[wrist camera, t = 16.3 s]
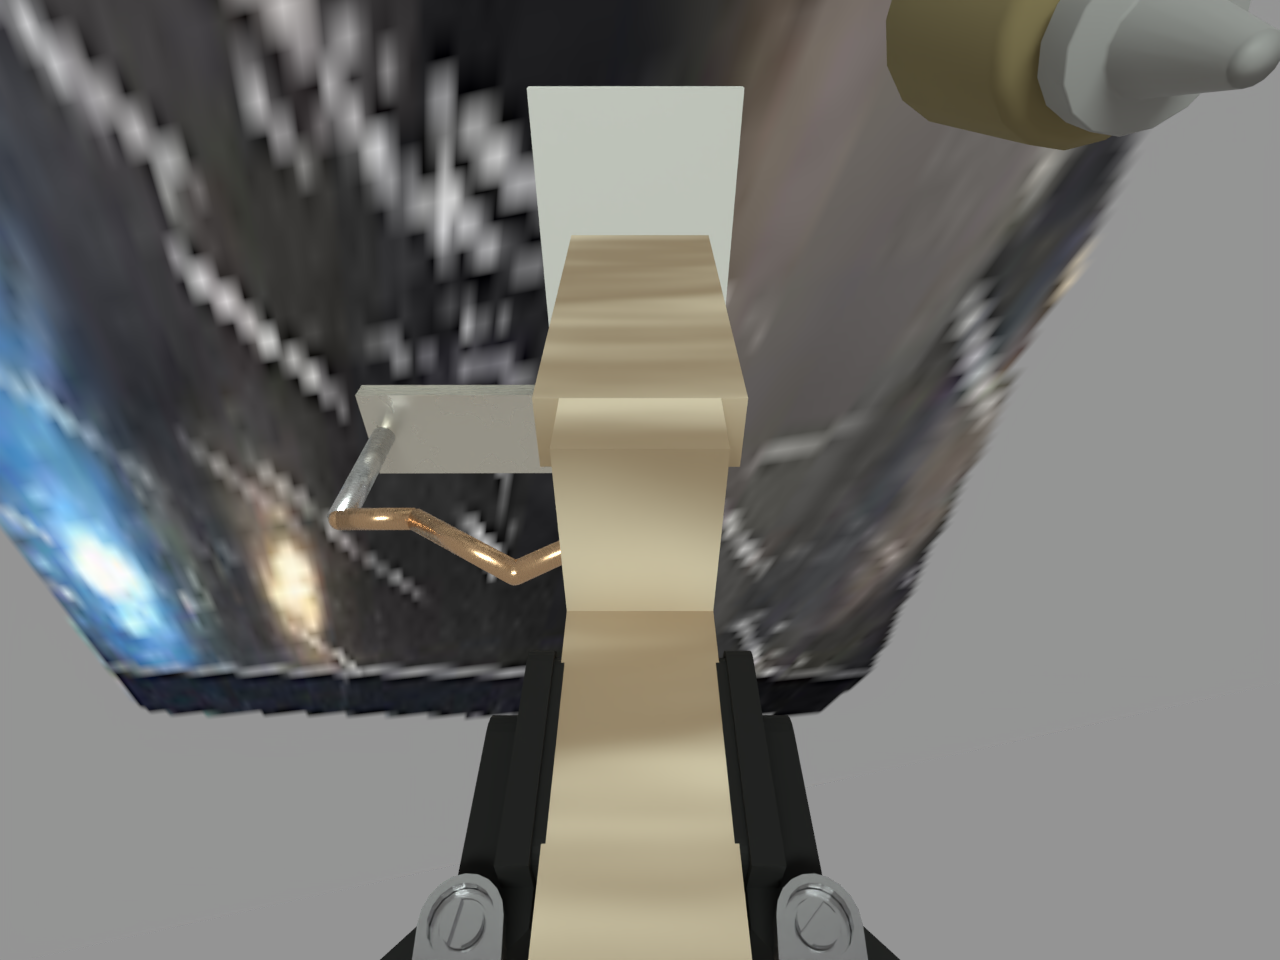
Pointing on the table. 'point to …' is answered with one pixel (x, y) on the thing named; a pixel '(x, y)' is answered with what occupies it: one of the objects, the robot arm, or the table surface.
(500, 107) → the table surface
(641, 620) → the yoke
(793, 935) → the robot arm
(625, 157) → the pad
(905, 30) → the squeeze bottle
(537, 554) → the wire
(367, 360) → the table surface
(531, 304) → the table surface
